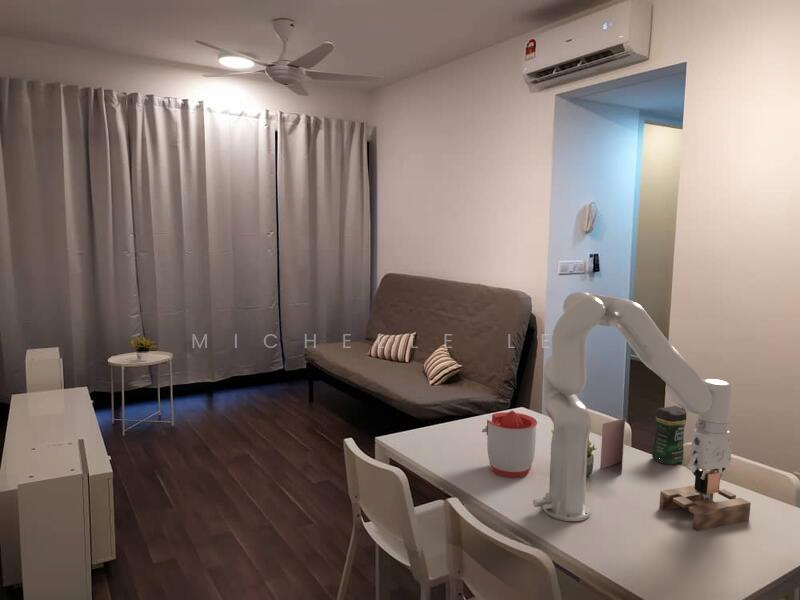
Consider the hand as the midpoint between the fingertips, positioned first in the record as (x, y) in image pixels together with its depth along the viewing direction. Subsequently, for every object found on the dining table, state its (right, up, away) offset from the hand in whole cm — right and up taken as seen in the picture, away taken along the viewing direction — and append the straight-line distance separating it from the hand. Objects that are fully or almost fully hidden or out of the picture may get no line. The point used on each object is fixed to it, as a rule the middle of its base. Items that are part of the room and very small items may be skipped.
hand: (706, 489), depth 159 cm
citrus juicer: (-49, -3, +28) cm, 57 cm away
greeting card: (-12, -3, +31) cm, 34 cm away
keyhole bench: (-1, -7, +1) cm, 7 cm away
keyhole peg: (0, -6, +1) cm, 6 cm away
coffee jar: (+7, -3, +38) cm, 38 cm away
